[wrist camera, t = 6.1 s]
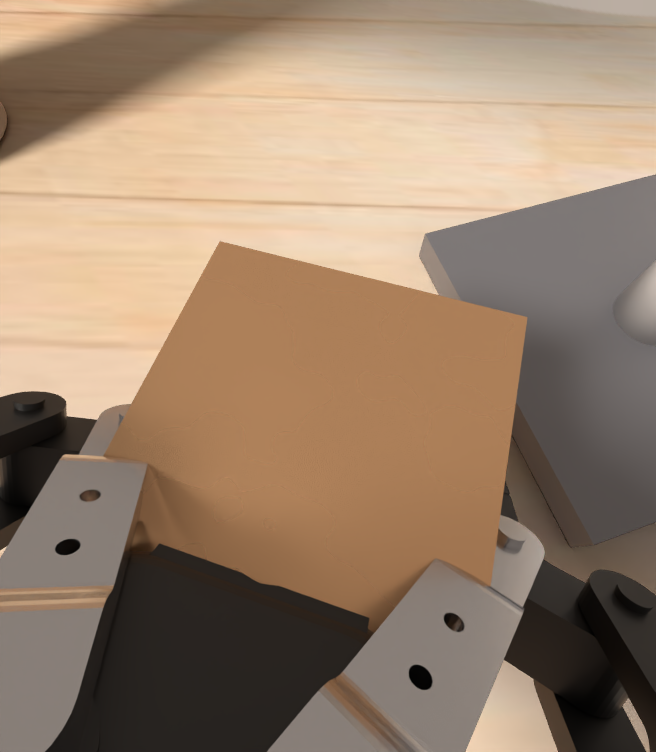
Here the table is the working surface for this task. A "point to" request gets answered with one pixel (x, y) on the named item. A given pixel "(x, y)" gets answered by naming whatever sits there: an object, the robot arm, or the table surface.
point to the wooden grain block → (326, 430)
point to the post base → (574, 344)
